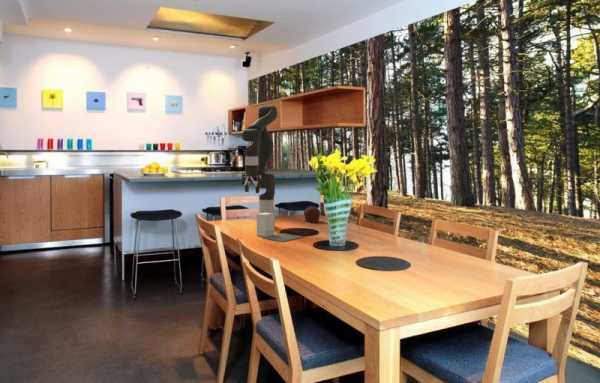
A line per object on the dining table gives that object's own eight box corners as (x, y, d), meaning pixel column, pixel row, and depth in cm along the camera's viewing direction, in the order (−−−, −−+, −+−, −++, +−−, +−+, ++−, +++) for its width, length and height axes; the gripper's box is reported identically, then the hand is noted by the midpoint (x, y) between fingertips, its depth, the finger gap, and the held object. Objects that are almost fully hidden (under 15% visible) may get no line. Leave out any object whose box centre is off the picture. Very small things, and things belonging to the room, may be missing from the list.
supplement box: (274, 235, 276) (274, 213, 275) (265, 237, 271) (265, 214, 269) (265, 233, 281) (265, 212, 280) (256, 235, 276) (256, 213, 274)
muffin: (302, 220, 332) (303, 205, 331) (318, 220, 333) (319, 205, 332) (304, 223, 320) (305, 208, 319) (321, 222, 321) (321, 207, 320)
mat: (283, 234, 280) (283, 233, 280) (303, 237, 270) (303, 236, 270) (262, 238, 267) (262, 237, 267) (283, 242, 257) (282, 241, 257)
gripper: (265, 164, 275) (265, 192, 277) (247, 163, 284) (248, 191, 286) (255, 165, 270) (256, 194, 271) (238, 164, 279) (238, 192, 281)
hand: (252, 192), depth 279 cm, fingers open, 8 cm apart
